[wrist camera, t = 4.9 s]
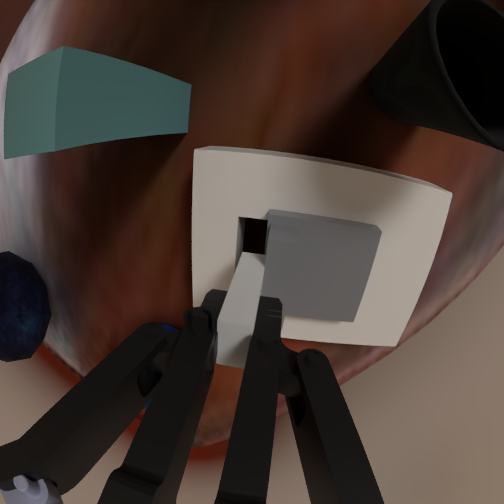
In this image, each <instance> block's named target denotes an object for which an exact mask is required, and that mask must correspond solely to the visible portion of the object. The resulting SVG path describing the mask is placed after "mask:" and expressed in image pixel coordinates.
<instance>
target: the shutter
mask: <svg viewBox="0 0 504 504" xmlns="http://www.w3.org/2000/svg"><path fill="white" fill-rule="evenodd" d="M381 234H382V231H381V230H380V228H379V227H378V226H377V225H373V224H367V223H361V222H356V221H350V220H343V219H337V218H331V217H324V216H318V215H311V214H304V213H297V212H290V211H283V210H275V209H270V211H269V216H268V225H267V233H266V242H265V250H264V255H266V259H265V269H264V277H263V284H262V291H261V296H267V297H273V298H279V299H280V301H281V303H282V304H283V308H282V324H281V330H282V327H283V322H284V318H285V315H288V316H296V317H305V318H313V319H323V320H333V321H343V322H354V319H355V316H356V314H357V311H358V308H359V305H360V303H361V300H362V297H363V294H364V291H365V288H366V285H367V282H368V279H369V276H370V272H371V269H372V266H373V262H374V259H375V256H376V252H377V249H378V245H379V241H380V238H381Z"/></svg>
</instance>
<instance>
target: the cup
mask: <svg viewBox="0 0 504 504" xmlns="http://www.w3.org/2000/svg"><path fill="white" fill-rule="evenodd" d="M370 89H371V92H372V96H373V98H374V100H375V102H376V104H377V105H378V106H379V107H380V109H381V110H382V111H383V112H384V113H385V114H387V115H388V116H389V117H391V118H393V119H394V120H396V121H400V122H404V123H409V124H413V125H418V126H422V127H427V128H431V129H435V130H439V131H442V132H446V133H450V134H453V135H457V136H460V137H463V138H467V139H470V140H473V141H476V142H479V143H482V144H485V145H487V146H490V147H493V148H495V149H498V150H501V151H503V152H504V15H503V14H502V13H501V12H500V11H499V10H498V9H497V8H496V7H494V6H493V5H491V4H490V3H488V2H487V1H485V0H431V2H430V3H429V4H428V5H427V6H426V7H425V8H424V9H423V11H422V12H421V13H420V14H419V15H418V16H417V18H416V19H415V20H414V21H413V22H412V23H411V24H410V26H409V27H408V28H407V29H406V30H405V31H404V33H403V34H402V35H401V36H400V37H399V38H398V40H397V41H396V42H395V43H394V44H393V45H392V47H391V48H390V49H389V50H388V51H387V53H386V54H385V55H384V56H383V57H382V59H381V60H380V61H379V62H378V63H377V65H376V66H375V67H374V69H373V71H372V73H371V77H370Z"/></svg>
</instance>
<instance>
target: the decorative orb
mask: <svg viewBox="0 0 504 504" xmlns="http://www.w3.org/2000/svg"><path fill="white" fill-rule="evenodd" d="M51 315H52V314H51V310H50V305H49V301H48V297H47V292H46V287H45V284H44V283H43V281H42V280H41V278H40V276H39V275H38V273H37V272H36V270H35V268H34V267H33V265H32V263H30V262H28V261H26V260H24V259H22V258H21V257H19V256H17V255H15V254H13V253H11V252H10V251H7V252H1V253H0V360H2V361H6V362H11V361H16V360H22V359H27V358H31V357H32V355H33V354H34V352H35V351H36V350H37V348H38V347H39V345H40V344H41V343H42V341H43V340H44V338H45V334H46V331H47V328H48V324H49V321H50V318H51Z"/></svg>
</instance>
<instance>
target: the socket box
mask: <svg viewBox="0 0 504 504" xmlns="http://www.w3.org/2000/svg"><path fill="white" fill-rule="evenodd" d="M452 194H453V193H451V192H449V191H447V190H445V189H443V188H440V187H438V186H436V185H434V184H432V183H430V182H427V181H423V180H420V179H416V178H413V177H409V176H405V175H401V174H397V173H393V172H389V171H385V170H381V169H376V168H372V167H367V166H363V165H358V164H353V163H348V162H342V161H337V160H331V159H326V158H320V157H313V156H307V155H300V154H293V153H285V152H277V151H268V150H259V149H248V148H236V147H223V146H208V147H203V148H198V149H194V164H193V192H192V286H193V307H200V306H201V304H202V302H203V300H204V297H205V295H206V293H208V292H209V291H210V290H212V289H217V290H223V291H228V290H229V287H230V284H231V282H232V279H233V276H234V274H235V271H236V268H237V265H238V263H239V260H240V257H241V255H242V252H243V245H244V233H245V221H246V217H248V218H256V219H264V220H268V216H269V211H270V209H275V210H283V211H290V212H297V213H304V214H311V215H318V216H324V217H331V218H337V219H343V220H350V221H356V222H361V223H367V224H373V225H377V226H378V227H379V228H380V230H381V231H382V234H381V238H380V241H379V245H378V249H377V252H376V256H375V259H374V262H373V266H372V269H371V272H370V276H369V279H368V282H367V285H366V288H365V291H364V294H363V297H362V300H361V303H360V305H359V308H358V311H357V314H356V316H355V319H354V322H343V321H333V320H323V319H313V318H305V317H296V316H288V315H285V318H284V322H283V327H282V330H281V337H282V338H290V339H299V340H308V341H318V342H329V343H342V344H357V345H375V346H396V344H397V343H398V341H399V339H400V337H401V335H402V333H403V331H404V329H405V327H406V325H407V322H408V320H409V318H410V316H411V314H412V312H413V310H414V307H415V305H416V303H417V300H418V298H419V296H420V293H421V291H422V289H423V286H424V284H425V281H426V278H427V276H428V273H429V271H430V268H431V265H432V262H433V260H434V257H435V254H436V251H437V248H438V245H439V242H440V238H441V235H442V232H443V228H444V225H445V221H446V218H447V214H448V210H449V206H450V202H451V198H452Z"/></svg>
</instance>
